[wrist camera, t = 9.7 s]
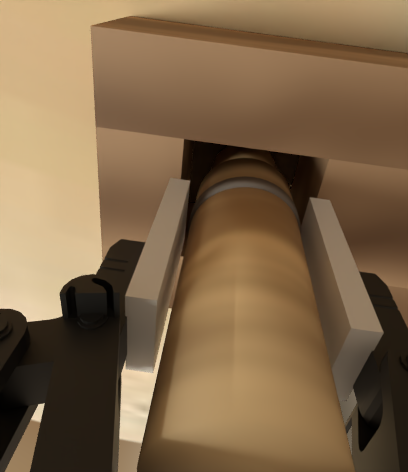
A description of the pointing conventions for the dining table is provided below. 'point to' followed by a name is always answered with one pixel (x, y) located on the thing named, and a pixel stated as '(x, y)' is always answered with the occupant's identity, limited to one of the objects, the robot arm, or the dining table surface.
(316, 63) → the seat block
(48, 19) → the dining table surface
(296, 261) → the peg
